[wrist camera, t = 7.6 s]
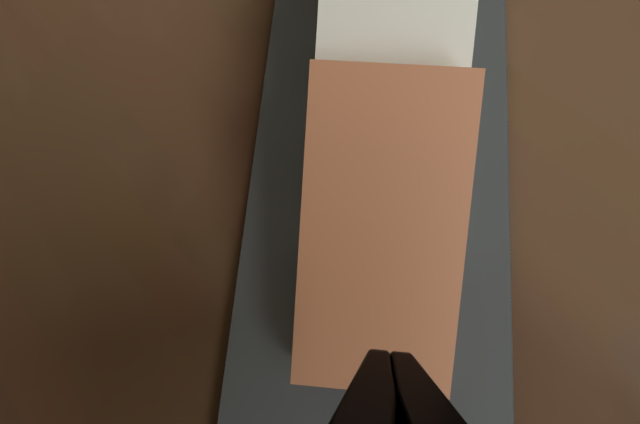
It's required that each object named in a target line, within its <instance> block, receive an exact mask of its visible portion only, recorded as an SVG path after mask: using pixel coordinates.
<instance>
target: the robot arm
mask: <svg viewBox="0 0 640 424" xmlns="http://www.w3.org/2000/svg"><path fill="white" fill-rule="evenodd" d="M328 424H467V422H466V421H465V420H464V419H463V417H462V416H461V415H460V414H459V412H458V411H457V410H456V409H455V407H454V406H453V405H452V404H451V402H450V401H449V400H448V399H447V397H446V396H445V395H444V394H443V392H442V391H441V390H440V389H439V387H438V386H437V385H436V384H435V382H434V381H433V380H432V379H431V377H430V376H429V375H428V373H427V372H426V371H425V370H424V368H423V367H422V366H421V365H420V363H419V362H418V361H417V360H416V358H415V357H414V356H413V355H412V354H411V353H409V352H400V351H392V352H391V353H389V352H388V351H387V350H378V349H370V350H368V352H367V354H366V355H365V357H364V359H363V361H362V363H361V365H360V366H359V368H358V370H357V372H356V374H355V376H354V377H353V379H352V381H351V383H350V385H349V387H348V388H347V390H346V392H345V394H344V396H343V398H342V399H341V401H340V403H339V405H338V407H337V409H336V410H335V412H334V414H333V416H332V418H331V420H330V421H329V423H328Z"/></svg>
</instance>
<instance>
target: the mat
mask: <svg viewBox="0 0 640 424" xmlns="http://www.w3.org/2000/svg"><path fill="white" fill-rule="evenodd" d="M317 16H318V0H275V4H274V12H273V19H272V26H271V34H270V41H269V48H268V56H267V63H266V70H265V78H264V85H263V92H262V100H261V107H260V114H259V122H258V129H257V136H256V144H255V151H254V158H253V166H252V173H251V180H250V187H249V195H248V202H247V209H246V217H245V224H244V231H243V239H242V246H241V253H240V261H239V268H238V275H237V283H236V290H235V297H234V305H233V312H232V319H231V327H230V334H229V341H228V349H227V356H226V363H225V371H224V378H223V385H222V393H221V400H220V407H219V414H218V422H217V424H328V423H329V421H330V420H331V418H332V416H333V414H334V412H335V410H336V409H337V407H338V405H339V403H340V401H341V399H342V398H343V396H344V394H345V392H346V390H345V389H335V388H325V387H315V386H305V385H295V384H290V380H291V364H292V347H293V331H294V314H295V297H296V281H297V264H298V248H299V231H300V215H301V198H302V182H303V165H304V148H305V132H306V115H307V99H308V82H309V66H310V59H315V49H316V33H317ZM472 68H486V70H485V79H484V88H483V98H482V107H481V116H480V125H479V134H478V144H477V153H476V162H475V171H474V181H473V190H472V199H471V208H470V217H469V227H468V236H467V245H466V254H465V264H464V273H463V282H462V291H461V300H460V310H459V319H458V328H457V337H456V347H455V356H454V365H453V374H452V383H451V393H450V400H449V401H450V402H451V404H452V405H453V406H454V407H455V409H456V410H457V411H458V412H459V414H460V415H461V416H462V417H463V419H464V420H465V421H466V422H467V424H514V405H513V357H512V308H511V260H510V211H509V163H508V115H507V66H506V18H505V0H479V1H478V10H477V20H476V30H475V39H474V49H473V58H472Z"/></svg>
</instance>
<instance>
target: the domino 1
mask: <svg viewBox="0 0 640 424" xmlns="http://www.w3.org/2000/svg"><path fill="white" fill-rule="evenodd" d="M478 1H479V0H318V16H317V33H316V49H315V59H317V60H336V61H356V62H375V63H394V64H413V65H432V66H452V67H471V68H472V58H473V49H474V39H475V30H476V20H477V10H478Z"/></svg>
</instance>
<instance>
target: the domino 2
mask: <svg viewBox="0 0 640 424" xmlns="http://www.w3.org/2000/svg"><path fill="white" fill-rule="evenodd" d="M485 70H486V68H471V67H452V66H432V65H413V64H394V63H375V62H356V61H336V60H317V59H310V66H309V82H308V99H307V115H306V132H305V148H304V165H303V182H302V198H301V215H300V231H299V248H298V264H297V281H296V297H295V314H294V331H293V347H292V364H291V380H290V384H295V385H305V386H315V387H325V388H335V389H345V390H347V388H348V387H349V385H350V383H351V381H352V379H353V377H354V376H355V374H356V372H357V370H358V368H359V366H360V365H361V363H362V361H363V359H364V357H365V355H366V354H367V352H368V350H370V349H378V350H387V351H388V352H389V353H391V352H392V351H400V352H409V353H411V354H412V355H413V356H414V357H415V358H416V360H417V361H418V362H419V363H420V365H421V366H422V367H423V368H424V370H425V371H426V372H427V373H428V375H429V376H430V377H431V379H432V380H433V381H434V382H435V384H436V385H437V386H438V387H439V389H440V390H441V391H442V392H443V394H444V395H445V396H446V397H447V399H448V400H450V393H451V383H452V374H453V365H454V356H455V347H456V337H457V328H458V319H459V310H460V300H461V291H462V282H463V273H464V264H465V254H466V245H467V236H468V227H469V217H470V208H471V199H472V190H473V181H474V171H475V162H476V153H477V144H478V134H479V125H480V116H481V107H482V98H483V88H484V79H485Z"/></svg>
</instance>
